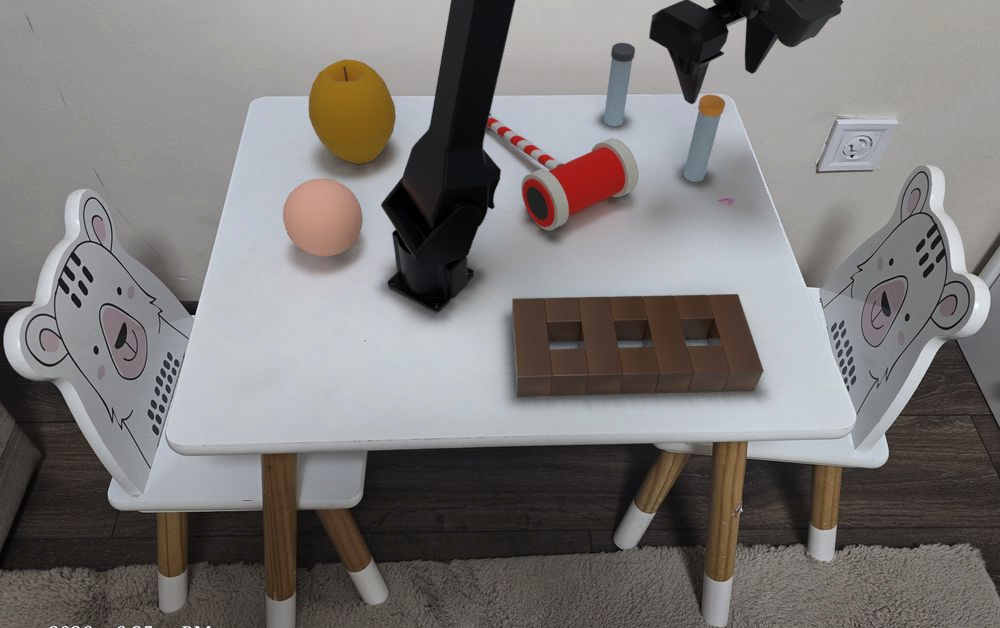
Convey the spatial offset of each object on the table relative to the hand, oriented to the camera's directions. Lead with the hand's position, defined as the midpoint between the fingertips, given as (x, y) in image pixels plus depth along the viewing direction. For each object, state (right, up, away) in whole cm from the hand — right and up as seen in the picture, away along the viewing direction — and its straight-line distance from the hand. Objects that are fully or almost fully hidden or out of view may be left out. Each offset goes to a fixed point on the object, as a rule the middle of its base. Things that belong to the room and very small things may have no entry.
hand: (720, 86), depth 78 cm
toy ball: (-41, -16, +3) cm, 44 cm away
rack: (-11, -27, -7) cm, 30 cm away
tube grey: (-8, +1, +18) cm, 20 cm away
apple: (-40, -4, +13) cm, 42 cm away
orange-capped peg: (0, -7, +11) cm, 13 cm away
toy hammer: (-18, -8, +10) cm, 22 cm away
